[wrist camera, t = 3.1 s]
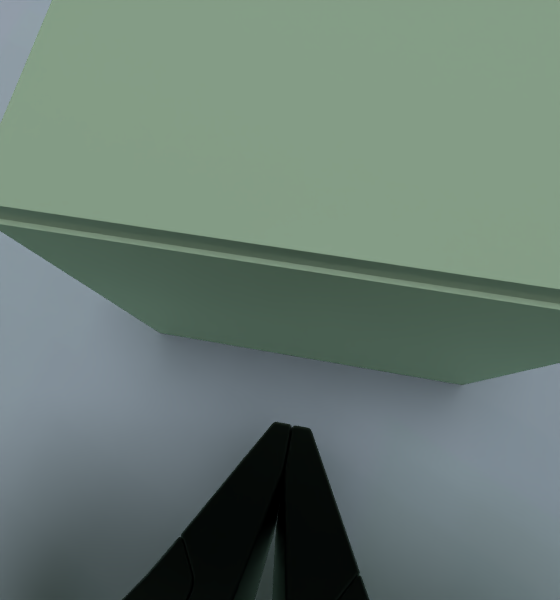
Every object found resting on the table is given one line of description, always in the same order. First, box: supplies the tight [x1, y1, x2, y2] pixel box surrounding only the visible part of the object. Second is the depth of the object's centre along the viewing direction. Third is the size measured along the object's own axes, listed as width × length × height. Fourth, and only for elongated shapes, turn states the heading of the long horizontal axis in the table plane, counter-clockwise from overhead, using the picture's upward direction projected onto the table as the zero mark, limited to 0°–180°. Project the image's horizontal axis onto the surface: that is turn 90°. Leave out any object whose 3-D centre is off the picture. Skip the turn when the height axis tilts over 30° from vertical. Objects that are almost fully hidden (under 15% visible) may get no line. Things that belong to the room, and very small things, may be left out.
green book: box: [0, 0, 560, 385], centre depth 12 cm, size 6×12×11 cm, turn 80°
